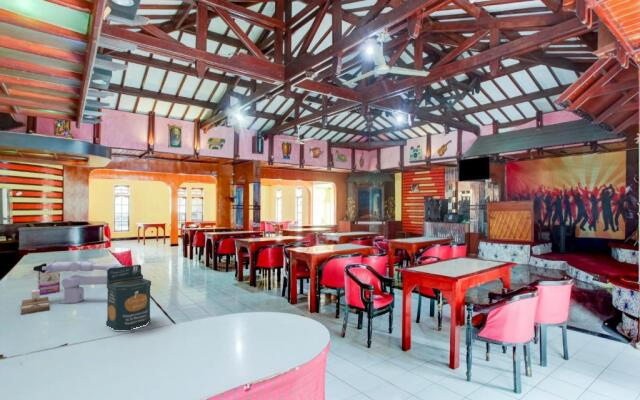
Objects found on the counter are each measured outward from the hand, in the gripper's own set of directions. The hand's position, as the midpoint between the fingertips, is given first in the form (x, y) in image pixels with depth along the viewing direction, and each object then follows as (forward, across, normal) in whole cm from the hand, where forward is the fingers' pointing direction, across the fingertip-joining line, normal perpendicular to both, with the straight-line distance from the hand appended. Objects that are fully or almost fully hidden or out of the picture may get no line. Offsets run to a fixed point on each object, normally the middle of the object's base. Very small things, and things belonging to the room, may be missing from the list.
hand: (38, 268), depth 205 cm
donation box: (-76, +40, +30) cm, 91 cm away
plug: (-3, +5, +19) cm, 20 cm away
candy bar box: (+11, -23, +18) cm, 31 cm away
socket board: (-6, +9, +22) cm, 25 cm away
